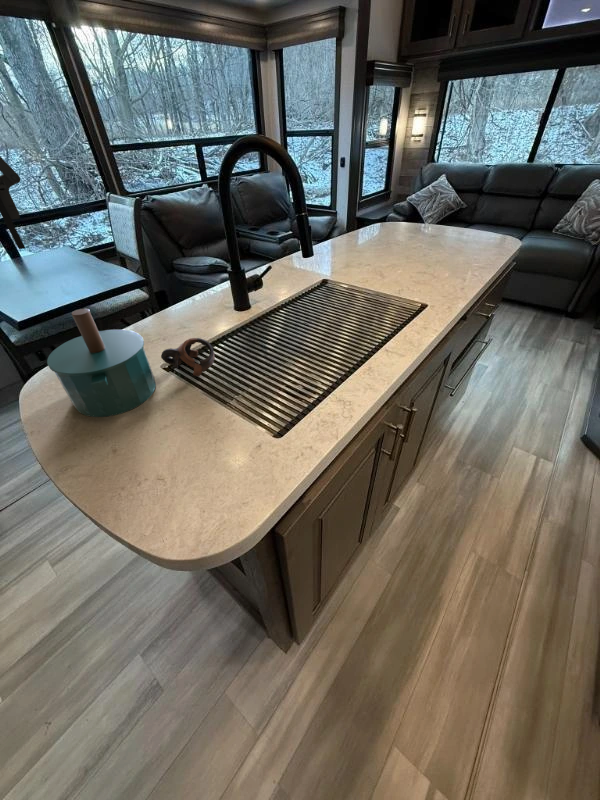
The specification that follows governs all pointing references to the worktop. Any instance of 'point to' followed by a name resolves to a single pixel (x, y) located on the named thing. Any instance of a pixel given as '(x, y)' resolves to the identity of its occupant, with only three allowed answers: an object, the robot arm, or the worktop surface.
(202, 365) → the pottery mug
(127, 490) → the worktop surface
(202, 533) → the worktop surface
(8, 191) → the robot arm
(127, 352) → the lid
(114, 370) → the pot
